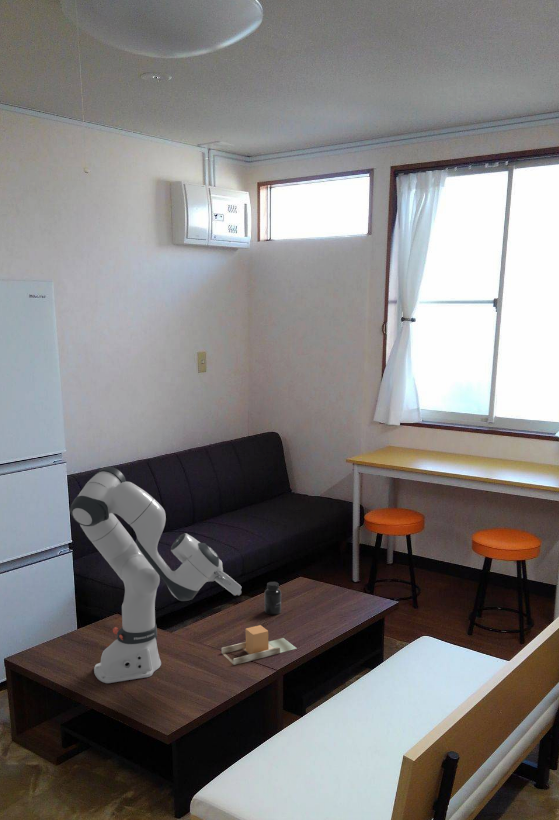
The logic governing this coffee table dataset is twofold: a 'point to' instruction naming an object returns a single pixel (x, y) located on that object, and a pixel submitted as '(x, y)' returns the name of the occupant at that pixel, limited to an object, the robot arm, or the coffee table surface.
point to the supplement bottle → (272, 599)
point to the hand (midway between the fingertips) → (236, 590)
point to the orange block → (256, 639)
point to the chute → (274, 648)
